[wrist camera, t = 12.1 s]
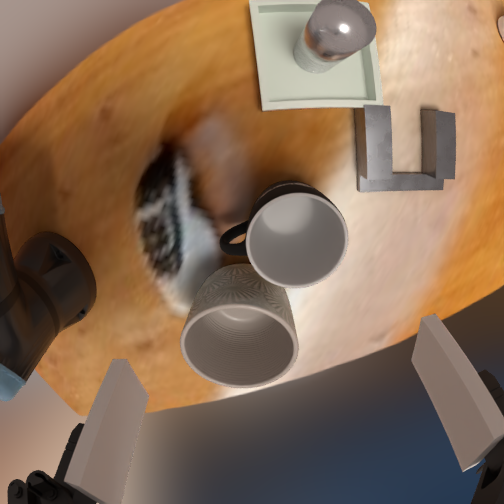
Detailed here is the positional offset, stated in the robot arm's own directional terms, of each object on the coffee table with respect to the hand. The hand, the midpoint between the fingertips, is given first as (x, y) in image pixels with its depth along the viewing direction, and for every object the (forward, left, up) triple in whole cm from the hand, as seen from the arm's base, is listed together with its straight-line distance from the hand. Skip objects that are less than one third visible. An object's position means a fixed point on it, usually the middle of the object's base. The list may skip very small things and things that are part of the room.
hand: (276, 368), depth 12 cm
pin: (+7, +17, -24) cm, 30 cm away
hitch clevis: (+17, +7, -24) cm, 31 cm away
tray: (+7, +17, -24) cm, 31 cm away
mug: (+1, -1, -25) cm, 25 cm away
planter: (-4, -12, -25) cm, 28 cm away
